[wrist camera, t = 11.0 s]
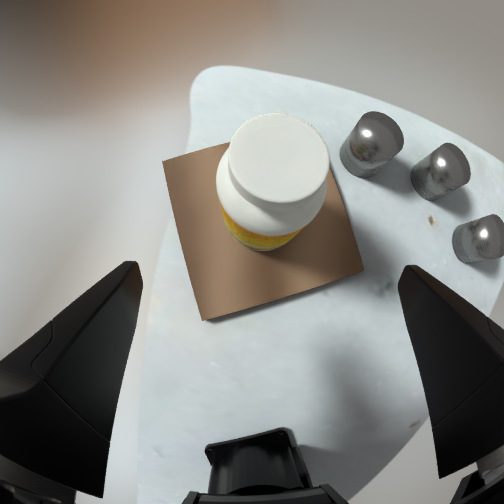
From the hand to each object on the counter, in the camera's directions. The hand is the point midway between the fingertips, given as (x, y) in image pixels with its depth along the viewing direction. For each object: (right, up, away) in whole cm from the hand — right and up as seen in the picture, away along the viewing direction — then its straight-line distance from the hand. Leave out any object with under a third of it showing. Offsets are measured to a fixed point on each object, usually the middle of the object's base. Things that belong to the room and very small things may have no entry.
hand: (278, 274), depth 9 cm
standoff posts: (+14, +6, +13) cm, 20 cm away
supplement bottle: (0, +3, +11) cm, 12 cm away
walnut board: (0, +3, +12) cm, 12 cm away
